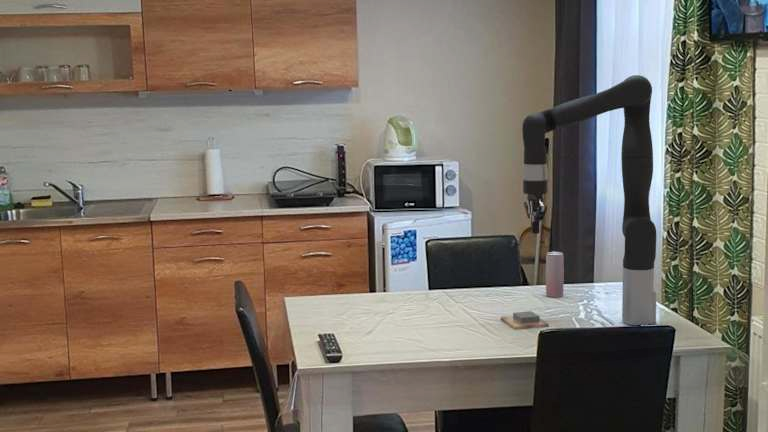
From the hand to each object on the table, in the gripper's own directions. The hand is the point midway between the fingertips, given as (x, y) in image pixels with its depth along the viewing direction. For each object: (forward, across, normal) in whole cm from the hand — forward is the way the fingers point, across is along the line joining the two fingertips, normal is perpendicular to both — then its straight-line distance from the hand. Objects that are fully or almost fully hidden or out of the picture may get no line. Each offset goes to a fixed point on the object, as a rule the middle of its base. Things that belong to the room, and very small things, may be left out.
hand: (535, 233), depth 296 cm
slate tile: (+25, -4, +6) cm, 26 cm away
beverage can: (+27, +25, -18) cm, 41 cm away
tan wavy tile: (+27, -6, +6) cm, 28 cm away
